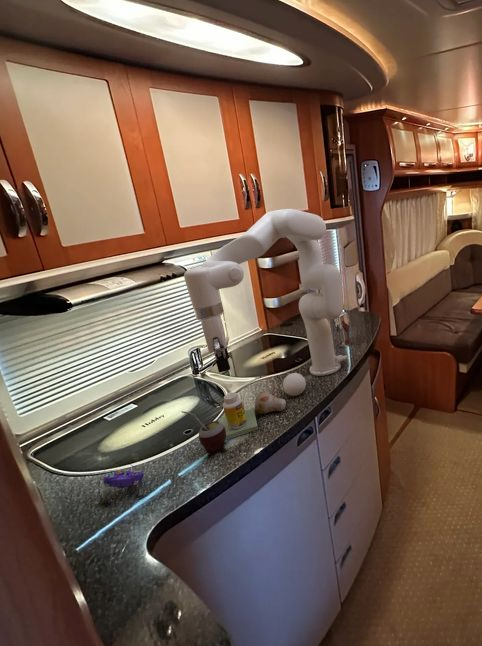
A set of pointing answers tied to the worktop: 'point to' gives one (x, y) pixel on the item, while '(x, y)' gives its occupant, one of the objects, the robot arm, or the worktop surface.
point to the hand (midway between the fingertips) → (224, 364)
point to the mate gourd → (211, 435)
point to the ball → (294, 384)
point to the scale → (248, 427)
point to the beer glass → (343, 329)
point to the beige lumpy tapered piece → (268, 403)
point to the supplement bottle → (234, 411)
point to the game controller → (122, 479)
